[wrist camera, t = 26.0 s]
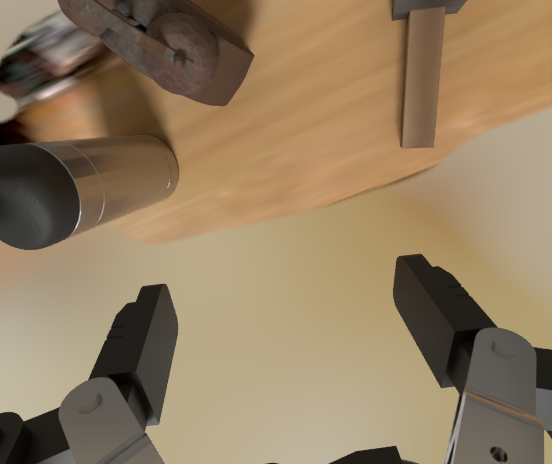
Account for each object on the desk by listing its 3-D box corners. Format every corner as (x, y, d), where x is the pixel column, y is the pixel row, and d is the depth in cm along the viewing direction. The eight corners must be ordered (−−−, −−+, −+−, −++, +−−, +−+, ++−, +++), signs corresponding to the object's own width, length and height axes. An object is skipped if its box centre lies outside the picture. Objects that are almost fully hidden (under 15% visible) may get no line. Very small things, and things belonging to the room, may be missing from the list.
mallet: (386, 146, 40) (387, 150, 35) (393, -26, 35) (396, -45, 30) (444, 144, 38) (452, 148, 34) (461, -36, 33) (473, -57, 29)
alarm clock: (150, 49, 43) (-16, -2, 25) (176, -12, 40) (10, -119, 22) (245, 119, 43) (149, 121, 24) (278, 63, 40) (197, 18, 21)
